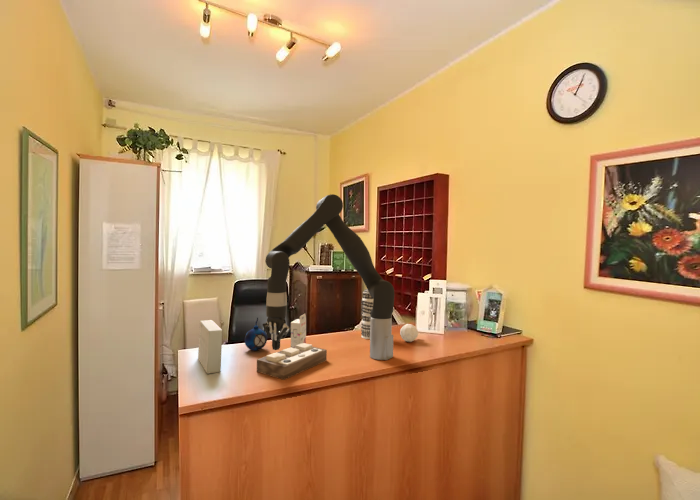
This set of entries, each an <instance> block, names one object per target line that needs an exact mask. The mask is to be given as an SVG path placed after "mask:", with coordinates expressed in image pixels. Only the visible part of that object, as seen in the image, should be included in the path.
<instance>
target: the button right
mask: <svg viewBox="0 0 700 500" xmlns="http://www.w3.org/2000/svg"><path fill="white" fill-rule="evenodd" d="M312 347H313V344H310V343H307V342H306V343H301V344H299V345H296V346H295V349H299V350H300V351H303V352H305V351H308V350H311V349H312Z"/></svg>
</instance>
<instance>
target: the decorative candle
mask: <svg viewBox="0 0 700 500" xmlns="http://www.w3.org/2000/svg"><path fill="white" fill-rule="evenodd" d="M360 301H361V302H360V304H361V316H362V320H361V325H360V326H361V329H360V330H361V333H360V334H361V338H362V339H365V340H370V317H371V310H372V309H373V298H372V296H371V295H370V293H369V291H368V289H367V288H365V289H364V290H363V291H362V299H361V300H360Z"/></svg>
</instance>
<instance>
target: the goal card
mask: <svg viewBox="0 0 700 500" xmlns="http://www.w3.org/2000/svg"><path fill="white" fill-rule="evenodd" d="M316 348H317V347H316ZM316 348H313V349H311V350H308V351H305V352H303V353H300V354H298V355H295V356H292V357H290V358H287V359H285V360H282V361H279V362H278V363H280V364H284V365H289V364H291V363H294V362H296V361H299V360H301V359H303V358H306V357H308V356H311V355H313V354H316V353H318V352H321V351H323V350H320V349H316Z"/></svg>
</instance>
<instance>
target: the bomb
mask: <svg viewBox="0 0 700 500" xmlns="http://www.w3.org/2000/svg"><path fill="white" fill-rule="evenodd" d="M258 322H259V317H256V321H255V325H254V326H253V328H252V329H249V330H248V331H247V332H246V334H245V336H244V345H245V346H246V347H247V349H249V350H251V351H253V352H254V351H260V350H262V349H264V348H265V347H266V344H267V342H268V336H267V333H266V331H265V330H263V329H261V328H259V326H258V325H257V323H258Z"/></svg>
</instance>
